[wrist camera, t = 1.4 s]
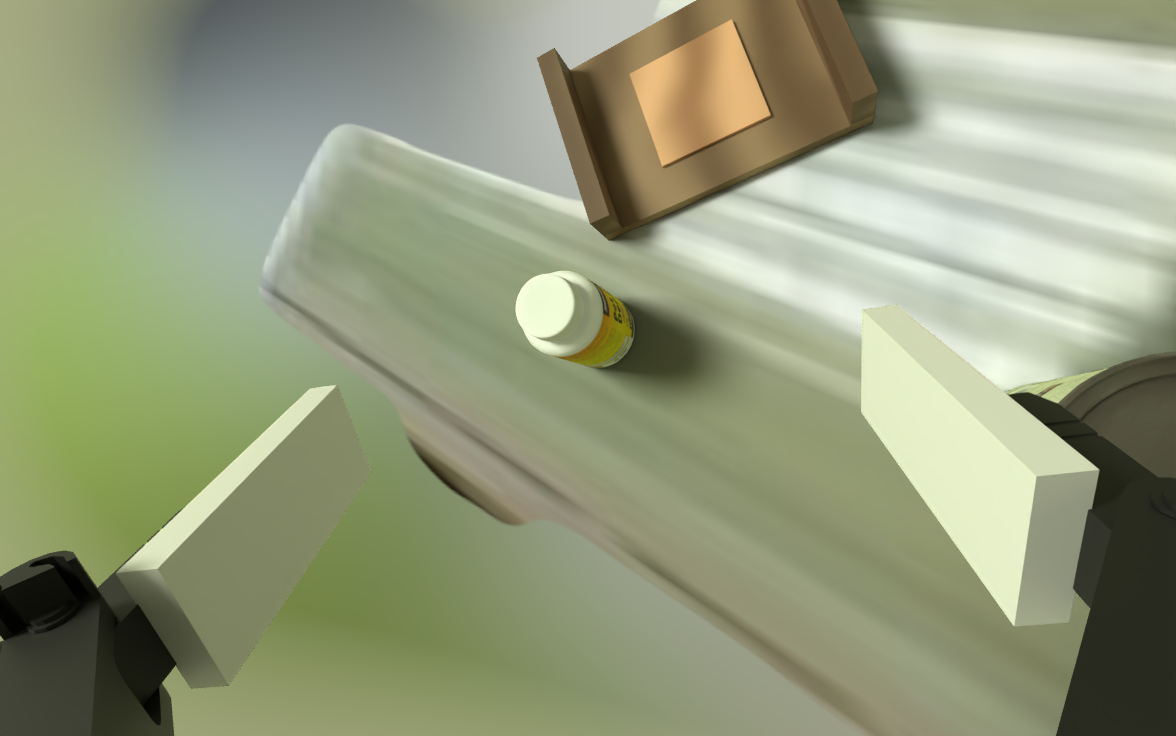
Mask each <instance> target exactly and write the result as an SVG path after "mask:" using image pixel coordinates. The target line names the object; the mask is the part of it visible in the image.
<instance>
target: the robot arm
mask: <svg viewBox="0 0 1176 736" xmlns="http://www.w3.org/2000/svg"><path fill="white" fill-rule="evenodd" d="M861 413H862V414H863V415H864V417H865V418H866V420H867V421H868V422H869V424H870V425H871V427H872V428H873V429H874V431H875V432H876V434H877V435H878V436H879V438H880V439H881V441H882V442H883V443H884V445H885V446H886V448H887V449H888V450H889V452H890V453H891V455H892V456H893V457H894V459H895V460H896V462H897V463H898V464H899V466H900V467H901V469H902V470H903V471H904V473H905V474H906V476H907V477H908V478H909V480H910V481H911V483H912V484H913V485H914V487H915V488H916V490H917V491H918V492H919V494H920V495H921V497H922V498H923V499H924V501H925V502H926V504H927V505H928V506H929V508H930V509H931V511H932V512H933V513H934V515H935V516H936V518H937V519H938V520H939V522H940V523H941V525H942V526H943V527H944V529H945V530H946V532H947V533H948V534H949V536H950V537H951V539H952V540H953V541H954V543H955V544H956V546H957V547H958V548H959V550H960V551H961V553H962V554H963V556H964V557H965V558H966V560H967V561H968V563H969V564H970V565H971V567H972V568H973V570H974V571H975V572H976V574H977V575H978V577H979V578H980V579H981V581H982V582H983V584H984V585H985V586H986V588H987V589H988V591H989V592H990V593H991V595H992V596H993V598H994V599H995V600H996V602H997V603H998V605H999V606H1000V607H1001V609H1002V610H1003V612H1004V613H1005V614H1006V616H1007V617H1008V619H1009V620H1010V621H1011V623H1012V624H1013V626H1014V627H1015V626H1028V625H1041V624H1054V623H1068V622H1069V621H1070V616H1071V611H1072V606H1073V601H1074V595H1075V592H1076V593H1077V594H1078V595H1079V596H1080V597H1081V598H1082V600H1083V601H1084V602H1085V603H1086V604H1087V605H1088V606H1089V607H1090V613H1089V616H1088V620H1087V624H1086V627H1085V631H1084V635H1083V638H1082V642H1081V646H1080V649H1079V653H1078V657H1077V661H1076V664H1075V668H1074V672H1073V675H1072V679H1071V683H1070V686H1069V690H1068V694H1067V697H1066V701H1065V705H1064V708H1063V712H1062V716H1061V719H1060V723H1059V727H1058V730H1057V734H1056V736H1176V478H1169V477H1160V478H1159V477H1157V476H1156V475H1154V474H1153V473H1152V472H1150V471H1149V470H1148V469H1146V468H1145V467H1144V466H1142V465H1141V464H1140V463H1138V462H1137V461H1135V460H1134V459H1133V458H1131V457H1130V456H1129V455H1127V454H1126V453H1125V452H1123V451H1122V450H1121V449H1119V448H1118V447H1117V446H1115V445H1114V444H1112V443H1111V442H1110V441H1108V440H1107V439H1106V438H1104V437H1103V436H1098V432H1096V431H1095V430H1093V429H1092V428H1091V427H1089V426H1088V425H1087V424H1085V423H1081V422H1080V419H1079V418H1077V417H1076V416H1074V415H1073V414H1072V413H1070V412H1069V411H1068V410H1066V409H1065V408H1064V407H1062V406H1061V405H1060V404H1058V403H1055V402H1053V401H1050V400H1048V399H1045V398H1043V397H1040V396H1037V395H1035V394H1032V393H1030V392H1024V393H1016V394H1006V393H1005V392H1003V391H1002V390H1001V389H1000V388H998V387H997V386H996V385H995V384H994V383H992V382H991V381H990V380H989V379H987V378H986V377H985V376H984V375H982V374H981V373H980V372H979V371H978V370H976V369H975V368H974V367H973V366H971V365H970V364H969V363H968V362H966V361H965V360H964V359H963V358H962V357H960V356H959V355H958V354H957V353H955V352H954V351H953V350H952V349H951V348H949V347H948V346H947V345H946V344H944V343H943V342H942V341H941V340H939V339H938V338H937V337H936V336H935V335H933V334H932V333H931V332H930V331H928V330H927V329H926V328H925V327H923V326H922V325H921V324H920V323H919V322H917V321H916V320H915V319H914V318H912V317H911V316H910V315H909V314H908V313H906V312H905V311H904V310H903V309H901V308H900V307H899V306H898V305H891V306H884V307H877V308H870V309H863V310H862V398H861ZM370 474H371V470H370V467H369V465H368V462H367V459H366V457H365V454H364V452H363V449H362V447H361V444H360V442H359V439H358V437H357V434H356V431H355V429H354V426H353V424H352V421H351V419H350V416H349V413H348V411H347V408H346V406H345V403H344V401H343V398H342V396H341V393H340V390H339V388H338V385H333V386H325V387H318V388H311V389H309V390H308V391H307V392H306V393H305V394H304V395H303V396H302V397H301V398H300V399H299V400H298V401H297V402H295V403H294V404H293V405H292V406H291V407H290V408H289V409H288V410H287V411H286V412H285V413H284V414H283V415H282V416H281V417H280V418H279V419H278V420H276V421H275V422H274V423H273V424H272V425H271V426H270V427H269V428H268V429H267V430H266V431H265V432H264V433H263V434H262V435H261V436H260V437H259V438H258V439H257V440H255V441H254V442H253V443H252V444H251V445H250V446H249V447H248V448H247V449H246V450H245V451H244V452H243V453H242V454H241V455H240V456H238V458H237V459H235V460H234V461H233V462H232V463H231V464H230V465H229V466H228V467H227V468H226V469H225V470H224V471H223V472H222V473H221V474H219V475H218V476H217V477H216V478H215V479H214V480H213V481H212V482H211V483H210V484H209V485H208V486H207V487H206V488H205V489H204V490H203V491H202V492H200V493H199V494H198V495H197V496H196V497H195V498H194V499H193V500H192V501H191V502H190V503H189V504H188V505H187V506H186V507H184V508H182V509H181V510H180V511H179V512H178V513H177V514H175V516H173V517H172V518H171V519H170V520H169V521H168V522H167V523H166V524H165V525H164V526H163V527H162V530H159V531H157V533H155V534H154V535H153V536H152V537H151V538H150V539H149V540H148V541H147V542H148V543H147V544H145V545H143V546H142V547H140V548H139V549H138V550H137V551H136V552H135V553H134V554H133V555H132V556H131V557H130V558H129V559H128V560H127V561H126V562H125V563H124V564H122V566H120V567H119V568H118V569H117V570H116V571H115V572H114V573H113V574H112V575H111V576H110V577H109V578H108V579H107V580H106V581H104V582H103V583H102V584H101V585H100V586H99V587H98V588H97V587H96V585H95V584H94V582H93V581H92V579H91V578H90V576H89V575H88V573H87V572H86V571H85V569H84V567H83V566H82V564H81V563H80V562H79V560H78V559H77V557H76V556H75V554H74V553H73V552H69V551H59V552H53V553H49V554H46V555H43V556H41V557H38V558H35V559H32V560H30V561H28V562H26V563H24V564H22V565H20V566H18V567H16V568H14V569H12V570H10V571H9V572H7V573H6V574H4V575H3V576H1V577H0V636H1V637H2V638H3V640H4V641H1V642H0V736H174V730H173V716H172V704H171V697H170V695H169V693H168V692H167V690H166V689H165V687H164V686H163V684H162V682H163V681H164V679H165V678H166V677H167V676H168V674H169V673H170V672H171V671H172V669H173V668H174V667H175V665H176V667H177V668H178V670H179V671H180V673H181V674H182V676H183V677H184V679H185V680H186V682H187V684H188V685H189V687H190V688H191V689H193V688H206V687H218V686H229V685H230V683H231V682H232V681H233V679H234V677H235V676H236V674H237V673H238V672H239V670H240V669H241V667H242V666H243V664H244V662H245V661H246V659H247V658H248V657H249V655H250V654H251V652H252V650H253V649H254V648H255V646H256V645H257V643H258V642H259V640H260V639H261V637H262V636H263V634H264V633H265V631H266V630H267V628H268V627H269V625H270V624H271V622H272V621H273V619H274V617H275V616H276V615H277V613H278V612H279V610H280V609H281V607H282V606H283V604H284V603H285V601H286V600H287V598H288V597H289V595H290V593H291V592H292V590H293V589H294V588H295V586H296V585H297V583H298V582H299V580H300V579H301V577H302V576H303V574H304V573H305V571H306V570H307V568H308V567H309V565H310V563H311V562H312V561H313V559H314V558H315V556H316V555H317V553H318V552H319V550H320V549H321V547H322V546H323V544H324V543H325V541H326V540H327V538H328V536H329V535H330V534H331V532H332V531H333V529H334V527H335V526H336V525H337V523H338V522H339V520H340V519H341V517H342V516H343V514H344V513H345V511H346V510H347V508H348V507H349V505H350V504H351V502H352V501H353V499H354V498H355V496H356V495H357V493H358V492H359V490H360V489H361V487H362V485H363V484H364V483H365V481H366V480H367V478H368V477H369V475H370Z"/></svg>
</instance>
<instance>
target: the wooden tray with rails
mask: <svg viewBox="0 0 1176 736" xmlns="http://www.w3.org/2000/svg"><path fill="white" fill-rule="evenodd" d="M537 60H538V62H539V66H540V69H541V72H542V75H543V78H544V81H545V85H546V88H547V91H548V94H549V97H550V100H551V103H552V106H553V109H554V113H555V116H556V118H557V122H558V125H559V128H560V131H561V134H562V138H563V141H564V144H565V147H566V150H567V153H568V156H569V160H570V162H571V166H572V169H573V172H574V175H575V178H576V181H577V184H578V188H579V191H580V194H581V197H582V200H583V203H584V206H585V209H586V213H587V216H588V219H589V222H590V224H591V225H592V226H593V227H594V228H595V229H597V230H598V231H599V232H600V233H601V234H602V235H603V236H604V237H605V238H607V239H608V240H611V239H613V238H615V237H617V236H619V235H622V234H624V233H626V232H628V231H631V230H633V229H635V228H637V227H640V226H642V225H644V224H646V223H649V222H651V221H653V220H655V219H658V218H660V217H662V216H664V215H667V214H669V213H671V212H673V211H676V210H678V209H680V208H682V207H684V206H687V205H689V204H691V203H693V202H696V201H698V200H700V199H702V198H705V197H707V196H709V195H711V194H714V193H716V192H718V191H720V190H723V189H725V188H727V187H729V186H732V185H734V184H736V183H738V182H740V181H743V180H745V179H747V178H749V177H752V176H754V175H756V174H758V173H761V172H763V171H765V170H767V169H770V168H772V167H774V166H776V165H779V164H781V163H783V162H785V161H788V160H790V159H792V158H794V157H796V156H799V155H801V154H803V153H805V152H808V151H810V150H812V149H814V148H817V147H819V146H821V145H823V144H826V143H828V142H830V141H832V140H835V139H837V138H839V137H841V136H844V135H846V134H848V133H850V132H852V131H855V130H857V129H859V128H861V127H864V126H866V125H868V124H870V123H873V118H874V113H875V107H876V101H877V95H878V89H877V87H876V85H875V83H874V81H873V78H872V76H871V74H870V72H869V70H868V67H867V65H866V63H865V61H864V59H863V56H862V54H861V52H860V50H859V48H858V45H857V43H856V41H855V39H854V37H853V34H852V32H851V30H850V28H849V26H848V23H847V21H846V19H845V17H844V15H843V12H842V10H841V8H840V6H839V4H838V1H837V0H696V1H694V2H693V3H691V4H689V5H687V6H685V7H684V8H682V9H680V10H678V11H676V12H675V13H673V14H671V15H669V16H667V17H666V18H664V19H662V20H660V21H658V22H656V23H655V24H653V25H651V26H649V27H647V28H646V29H644V30H642V31H640V32H639V33H637V34H635V35H633V36H631V37H629V38H628V39H626V40H624V41H622V42H620V43H619V44H617V45H615V46H613V47H611V48H610V49H608V50H606V51H604V52H602V53H601V54H599V55H597V56H595V57H593V58H592V59H590V60H588V61H587V62H584V63H583V64H581V65H579V66H577V67H575V68H573V69H572V70H569V68H568V67H567V65H566V64H565V63H564V62H563V60H562V58H561V57H560V55H559V54H558V53H557V51H556V50H555V48H554V49H552V50H550V51H548V52H547V53H545V54H543V55H541V56H540V57H538V58H537Z"/></svg>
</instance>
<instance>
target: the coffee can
mask: <svg viewBox="0 0 1176 736" xmlns="http://www.w3.org/2000/svg"><path fill="white" fill-rule="evenodd" d="M1024 392H1030V393H1032V394H1035V395H1037V396H1040V397H1043V398H1045V399H1048V400H1050V401H1053V402H1055V403H1058V404H1060V405H1061V406H1062V407H1064V408H1065V409H1066V410H1068V411H1069V412H1070V413H1072V414H1073V415H1074V416H1076V417H1077V418H1079V419H1080V422H1081V423H1085V424H1087V425H1088V426H1089V427H1091V428H1092V429H1093V430H1095V431H1096V432H1098V436H1103V437H1104V438H1106V439H1107V440H1108V441H1110V442H1111V443H1112V444H1114V445H1115V446H1117V447H1118V448H1119V449H1121V450H1122V451H1123V452H1125V453H1126V454H1127V455H1129V456H1130V457H1131V458H1133V459H1134V460H1135V461H1137V462H1138V463H1140V464H1141V465H1142V466H1144V467H1145V468H1146V469H1148V470H1149V471H1150V472H1152V473H1153V474H1154V475H1156V476H1157V477H1159V478H1160V477H1169V478H1176V352H1165V353H1159V354H1153V355H1148V356H1145V357H1141V358H1137V359H1133V360H1130V361H1126V362H1123V363H1121V364H1118V365H1115V366H1113V367H1110V368H1106V369H1101V370H1096V371H1092V372H1087V373H1083V374H1079V375H1074V376H1069V377H1065V378H1060V379H1055V380H1051V381H1047V382H1038V383H1032V384H1027V385H1023V386H1019V387H1016V388H1014V389H1011V390H1008V391H1006V392H1005V393H1006V394H1016V393H1024Z"/></svg>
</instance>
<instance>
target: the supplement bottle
mask: <svg viewBox="0 0 1176 736" xmlns="http://www.w3.org/2000/svg"><path fill="white" fill-rule="evenodd" d="M516 315H517V319H518V321H519V324H520V325H521V327H522V328H523V330H524V332H525V335H526V337H527V338H528V340H529V341H530V343H531V344H532V345H533V346H534V347H535V348H537V349H538V350H539V351H541V352H543V353H545V354H547V355H550V356H554V357H558V358H561V359H564V360H568V361H571V362H575V363H578V364H582V365H585V366H589V367H594V368H602V367H607V366H610V365H612V364H614V363H616V362H618V361H619V360H620V359H622V358H623V357H624V356H625V354H626V353H627V352H628V350H629V349H630V347H631V345H632V342H633V339H634V333H635V326H634V321H633V317H632V315H631V313H630V311H629V309H628V308H627V307H626V305H625V304H624V303H622V302H621V301H620V300H619V299H617V298H616V297H614V296H613V295H611V294H610V293H608V292H607V291H605V290H604V289H602V288H601V287H599V286H598V285H596V284H595V283H593V282H592V281H590V280H589V279H588V278H586V277H584V276H582V275H580V274H578V273H576V272H572V271H557V272H553V273H550V274H542V275H538V276H536V277H534V278H532V279H531V280H529V281H528V282H527V283H526V284H525V285H524V286H523V288H522V289H521V291H520V293H519V295H518V298H517V302H516Z"/></svg>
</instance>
